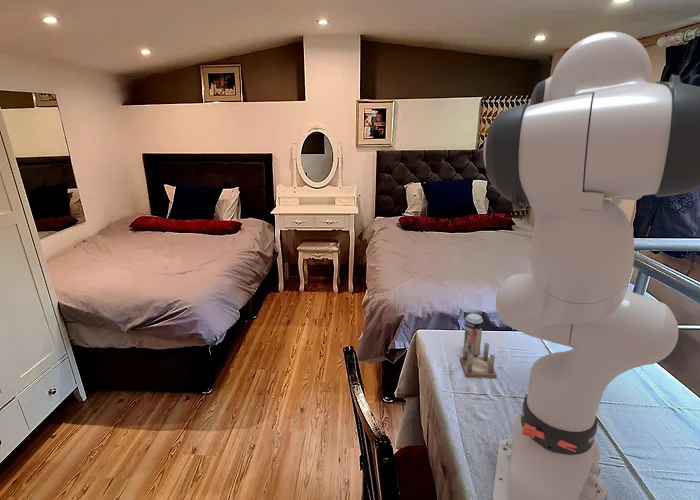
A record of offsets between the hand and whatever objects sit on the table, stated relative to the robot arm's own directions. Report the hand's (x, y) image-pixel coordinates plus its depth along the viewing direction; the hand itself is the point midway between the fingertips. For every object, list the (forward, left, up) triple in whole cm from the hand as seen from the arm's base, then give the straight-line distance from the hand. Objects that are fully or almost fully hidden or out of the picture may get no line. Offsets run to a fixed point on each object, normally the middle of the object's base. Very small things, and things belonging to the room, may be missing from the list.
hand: (582, 215), depth 84 cm
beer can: (0, +22, -44) cm, 49 cm away
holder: (-7, +18, -44) cm, 48 cm away
